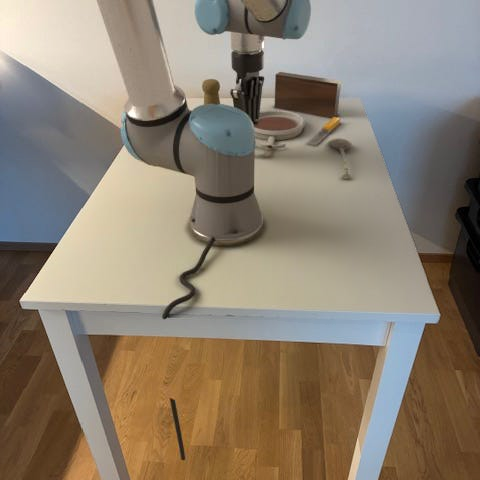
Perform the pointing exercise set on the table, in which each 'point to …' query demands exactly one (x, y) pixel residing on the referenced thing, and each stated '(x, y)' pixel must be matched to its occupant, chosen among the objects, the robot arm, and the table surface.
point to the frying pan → (277, 128)
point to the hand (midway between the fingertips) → (248, 150)
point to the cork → (211, 91)
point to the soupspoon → (342, 151)
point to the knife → (325, 130)
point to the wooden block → (307, 94)
